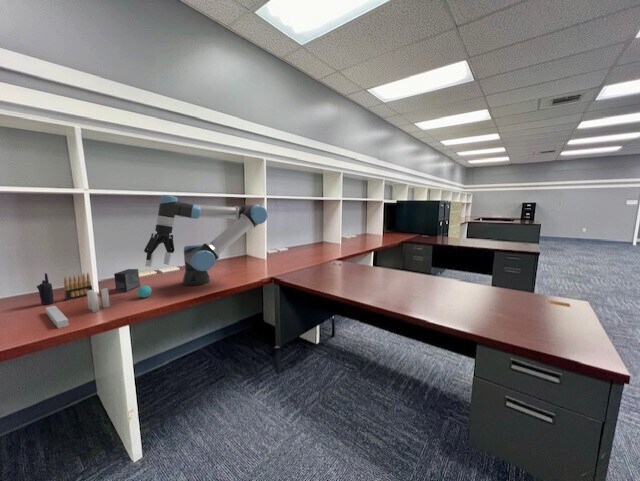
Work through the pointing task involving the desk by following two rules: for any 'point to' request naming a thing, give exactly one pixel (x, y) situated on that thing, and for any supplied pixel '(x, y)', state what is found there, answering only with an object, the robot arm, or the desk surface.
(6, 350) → the desk surface
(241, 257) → the desk surface
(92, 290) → the back right pin
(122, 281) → the small box
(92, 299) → the back left pin
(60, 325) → the white rectangular eraser
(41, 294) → the two-way radio
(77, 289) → the ammunition clip
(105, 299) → the front pin
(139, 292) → the ball
